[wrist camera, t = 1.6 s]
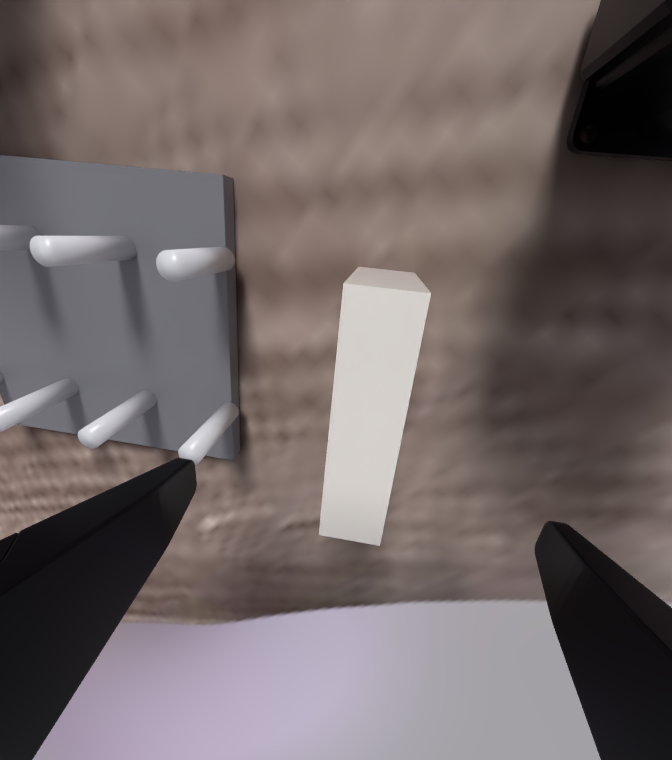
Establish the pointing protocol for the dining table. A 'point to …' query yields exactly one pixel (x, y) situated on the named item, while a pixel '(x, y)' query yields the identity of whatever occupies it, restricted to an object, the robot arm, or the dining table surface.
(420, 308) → the tile
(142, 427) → the rack
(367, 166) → the dining table surface
